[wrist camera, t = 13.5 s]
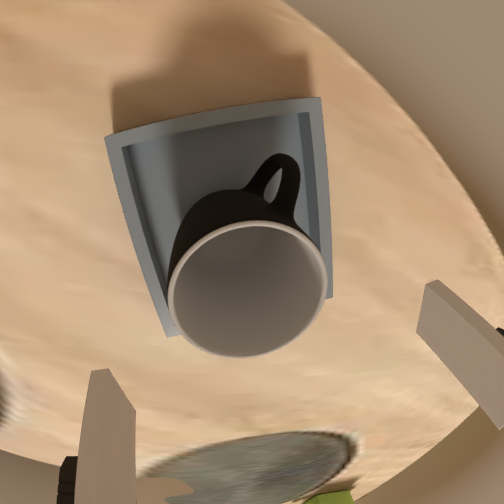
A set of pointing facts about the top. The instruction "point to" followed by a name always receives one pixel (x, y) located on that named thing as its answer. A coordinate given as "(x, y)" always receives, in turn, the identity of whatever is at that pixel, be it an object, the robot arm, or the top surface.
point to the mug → (246, 268)
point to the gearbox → (332, 498)
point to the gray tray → (216, 175)
